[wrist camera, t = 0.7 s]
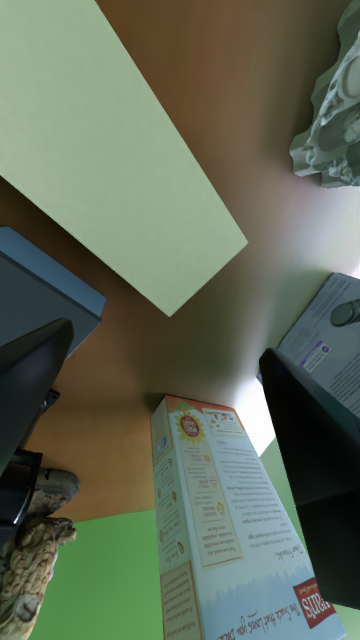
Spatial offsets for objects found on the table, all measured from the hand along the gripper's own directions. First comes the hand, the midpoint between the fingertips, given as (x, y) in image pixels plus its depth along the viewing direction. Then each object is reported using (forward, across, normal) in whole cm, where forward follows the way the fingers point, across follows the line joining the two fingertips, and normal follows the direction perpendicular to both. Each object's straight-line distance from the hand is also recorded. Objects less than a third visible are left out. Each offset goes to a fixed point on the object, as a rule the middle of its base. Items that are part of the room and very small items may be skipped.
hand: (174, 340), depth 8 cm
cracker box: (+9, -8, +24) cm, 27 cm away
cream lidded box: (+12, +6, -5) cm, 14 cm away
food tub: (+9, +12, +5) cm, 16 cm away
